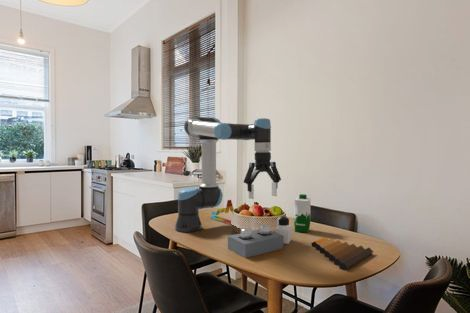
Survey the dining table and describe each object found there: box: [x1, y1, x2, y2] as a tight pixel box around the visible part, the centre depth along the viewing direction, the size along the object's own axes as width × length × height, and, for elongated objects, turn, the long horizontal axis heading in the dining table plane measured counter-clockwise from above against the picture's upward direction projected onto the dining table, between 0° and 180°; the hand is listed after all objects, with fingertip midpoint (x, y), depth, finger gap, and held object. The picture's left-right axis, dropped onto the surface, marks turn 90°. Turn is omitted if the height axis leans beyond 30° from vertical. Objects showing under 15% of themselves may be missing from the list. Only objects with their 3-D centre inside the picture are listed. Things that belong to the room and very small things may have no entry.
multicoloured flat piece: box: [210, 199, 235, 226], centre depth 187 cm, size 30×3×15 cm, turn 40°
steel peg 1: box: [240, 227, 253, 240], centre depth 137 cm, size 5×5×5 cm
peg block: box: [227, 229, 284, 259], centre depth 141 cm, size 14×22×6 cm, turn 124°
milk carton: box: [293, 193, 311, 233], centre depth 170 cm, size 9×9×20 cm
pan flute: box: [311, 236, 374, 272], centre depth 133 cm, size 25×3×25 cm
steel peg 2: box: [259, 223, 271, 236], centre depth 143 cm, size 5×5×5 cm
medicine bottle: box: [274, 216, 292, 245], centre depth 151 cm, size 7×7×12 cm
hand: (263, 197), depth 141 cm, fingers open, 13 cm apart
